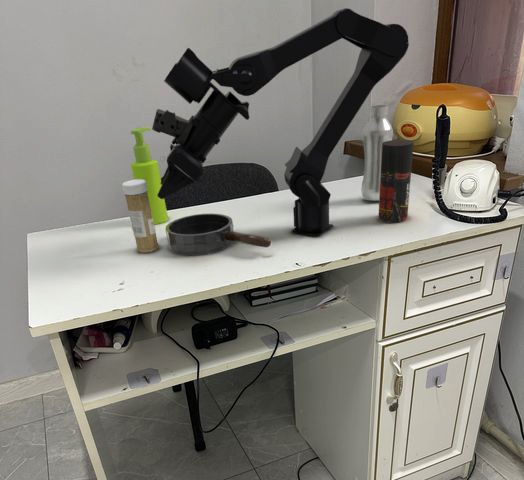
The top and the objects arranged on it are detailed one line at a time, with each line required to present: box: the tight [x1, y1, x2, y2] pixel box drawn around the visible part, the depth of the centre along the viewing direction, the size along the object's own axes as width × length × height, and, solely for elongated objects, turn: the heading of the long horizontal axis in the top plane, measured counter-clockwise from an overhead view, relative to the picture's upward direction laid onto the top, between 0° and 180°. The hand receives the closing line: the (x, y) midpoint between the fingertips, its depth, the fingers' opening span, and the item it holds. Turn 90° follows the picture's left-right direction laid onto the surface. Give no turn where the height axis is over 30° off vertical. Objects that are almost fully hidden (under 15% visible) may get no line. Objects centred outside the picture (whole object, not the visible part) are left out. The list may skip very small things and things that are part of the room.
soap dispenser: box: [130, 126, 169, 225], centre depth 110 cm, size 6×7×20 cm
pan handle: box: [221, 229, 272, 248], centre depth 92 cm, size 11×2×2 cm, turn 54°
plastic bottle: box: [360, 104, 394, 202], centre depth 110 cm, size 6×7×20 cm
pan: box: [165, 213, 235, 256], centre depth 98 cm, size 13×13×4 cm
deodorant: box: [377, 139, 415, 224], centre depth 99 cm, size 6×6×15 cm
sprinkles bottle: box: [121, 179, 160, 254], centre depth 95 cm, size 5×5×13 cm
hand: (161, 191), depth 93 cm, fingers open, 9 cm apart
